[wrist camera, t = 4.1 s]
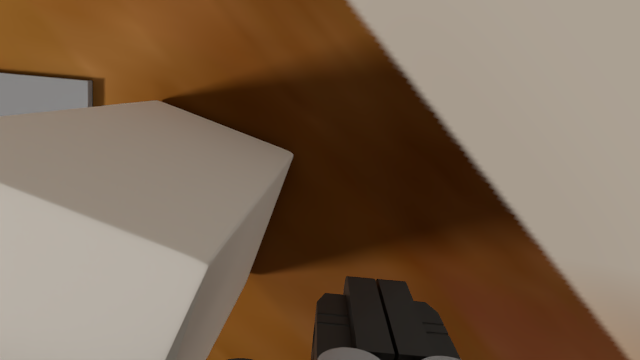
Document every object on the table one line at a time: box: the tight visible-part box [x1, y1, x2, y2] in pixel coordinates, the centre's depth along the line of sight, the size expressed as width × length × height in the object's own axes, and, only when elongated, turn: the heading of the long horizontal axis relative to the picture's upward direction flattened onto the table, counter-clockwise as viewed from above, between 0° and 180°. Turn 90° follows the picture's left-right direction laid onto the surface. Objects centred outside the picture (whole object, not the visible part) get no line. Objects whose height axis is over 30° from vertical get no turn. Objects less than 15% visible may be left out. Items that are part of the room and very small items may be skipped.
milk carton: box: [0, 100, 293, 360], centre depth 16 cm, size 7×7×19 cm
